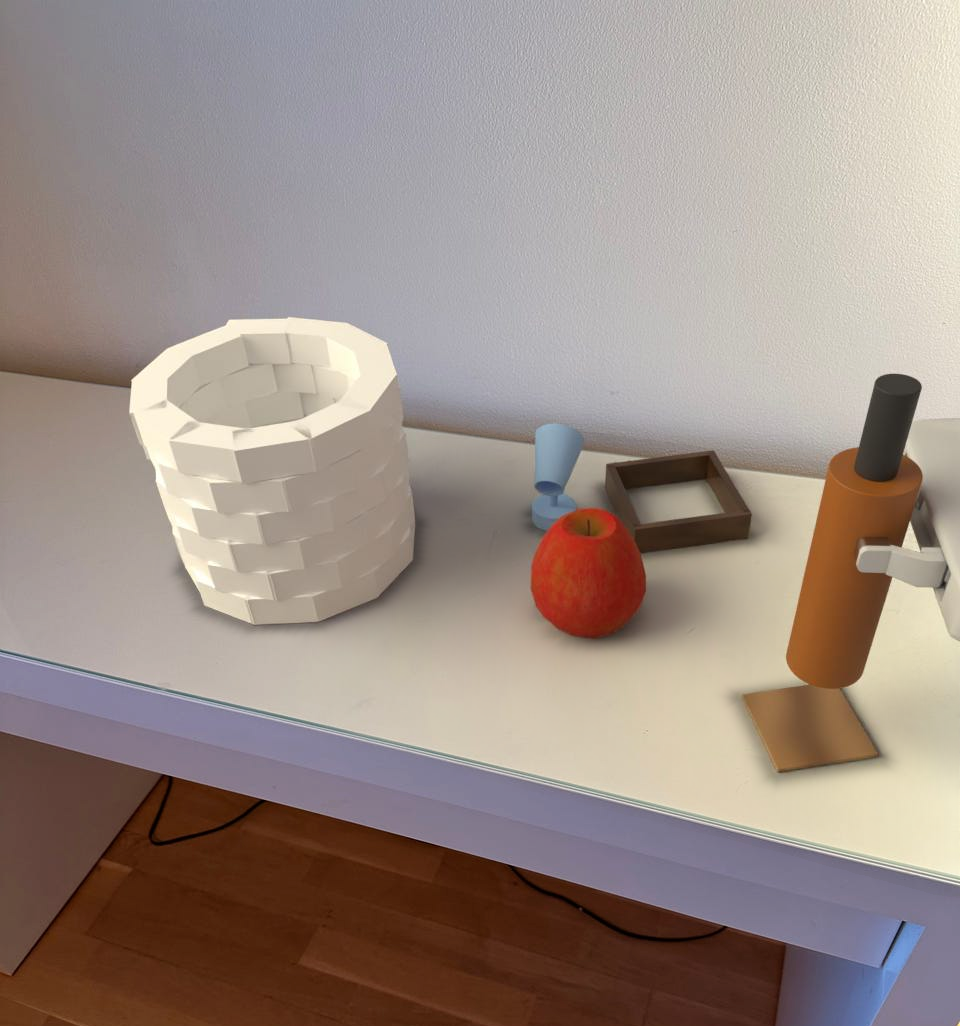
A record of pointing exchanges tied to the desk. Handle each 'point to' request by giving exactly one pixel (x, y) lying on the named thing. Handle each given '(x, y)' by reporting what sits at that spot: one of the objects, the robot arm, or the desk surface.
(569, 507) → the spotlight
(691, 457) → the square frame
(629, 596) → the apple
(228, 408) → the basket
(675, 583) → the desk surface
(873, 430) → the bottle
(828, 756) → the coaster
